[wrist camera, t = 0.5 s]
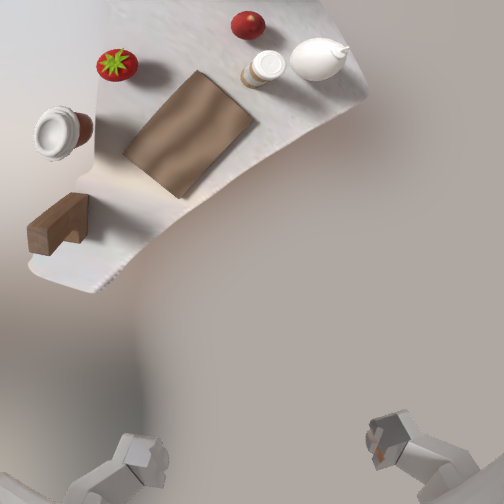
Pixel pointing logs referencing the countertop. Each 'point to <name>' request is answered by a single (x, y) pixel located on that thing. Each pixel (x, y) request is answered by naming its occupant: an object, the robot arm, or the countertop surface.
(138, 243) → the countertop surface
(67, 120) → the coffee cup
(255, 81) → the sprinkles bottle
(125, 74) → the strawberry
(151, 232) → the countertop surface
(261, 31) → the onion
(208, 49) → the countertop surface
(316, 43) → the sauce bottle
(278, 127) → the countertop surface
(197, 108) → the walnut board
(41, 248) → the wooden block
